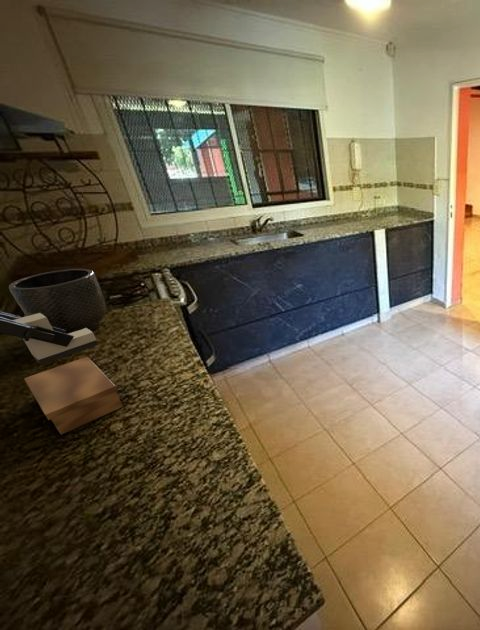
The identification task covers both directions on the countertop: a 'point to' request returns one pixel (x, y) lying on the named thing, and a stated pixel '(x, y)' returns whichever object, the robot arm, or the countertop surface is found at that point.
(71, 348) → the black-striped white block
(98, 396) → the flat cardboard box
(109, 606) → the countertop surface
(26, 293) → the planter
